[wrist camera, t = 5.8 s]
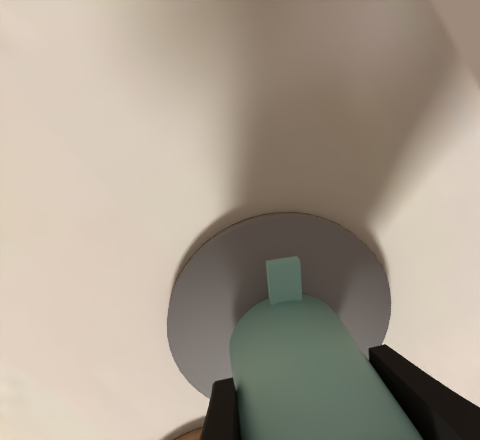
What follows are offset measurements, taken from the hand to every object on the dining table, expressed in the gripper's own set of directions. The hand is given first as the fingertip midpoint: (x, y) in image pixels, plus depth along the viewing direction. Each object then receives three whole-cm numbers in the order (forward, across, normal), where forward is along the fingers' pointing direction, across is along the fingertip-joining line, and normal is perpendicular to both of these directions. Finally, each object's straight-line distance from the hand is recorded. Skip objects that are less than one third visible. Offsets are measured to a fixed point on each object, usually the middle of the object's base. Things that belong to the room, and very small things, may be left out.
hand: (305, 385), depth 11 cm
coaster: (+4, 0, 0) cm, 4 cm away
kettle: (+2, 0, 0) cm, 2 cm away
